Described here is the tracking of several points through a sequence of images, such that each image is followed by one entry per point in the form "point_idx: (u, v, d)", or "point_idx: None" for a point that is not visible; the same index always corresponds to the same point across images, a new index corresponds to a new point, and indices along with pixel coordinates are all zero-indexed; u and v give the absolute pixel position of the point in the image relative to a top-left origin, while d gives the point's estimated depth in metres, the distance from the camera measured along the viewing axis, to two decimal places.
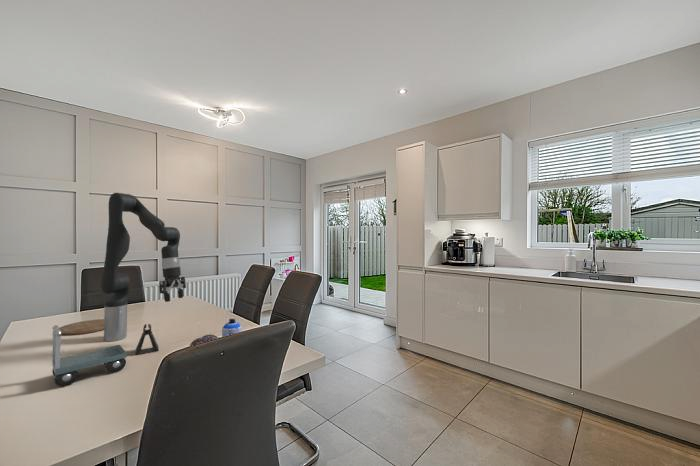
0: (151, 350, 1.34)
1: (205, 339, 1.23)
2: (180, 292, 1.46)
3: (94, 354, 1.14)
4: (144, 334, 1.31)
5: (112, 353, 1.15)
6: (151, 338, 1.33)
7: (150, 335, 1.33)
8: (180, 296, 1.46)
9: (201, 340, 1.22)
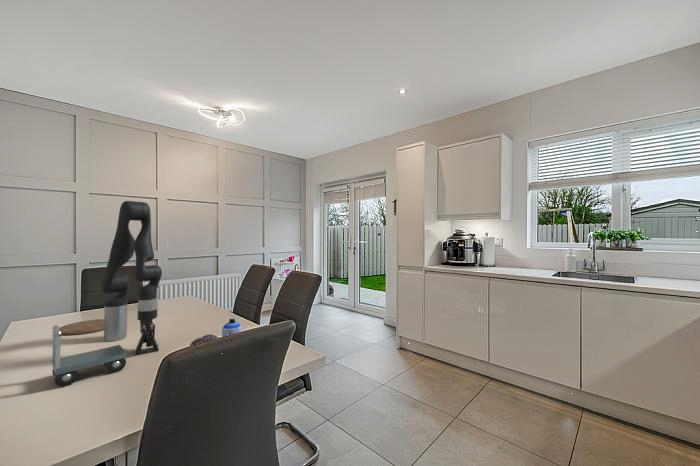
0: (151, 350, 1.34)
1: (205, 339, 1.23)
2: (146, 336, 1.37)
3: (94, 354, 1.14)
4: (144, 334, 1.31)
5: (112, 353, 1.15)
6: None
7: None
8: (145, 341, 1.36)
9: (201, 340, 1.22)
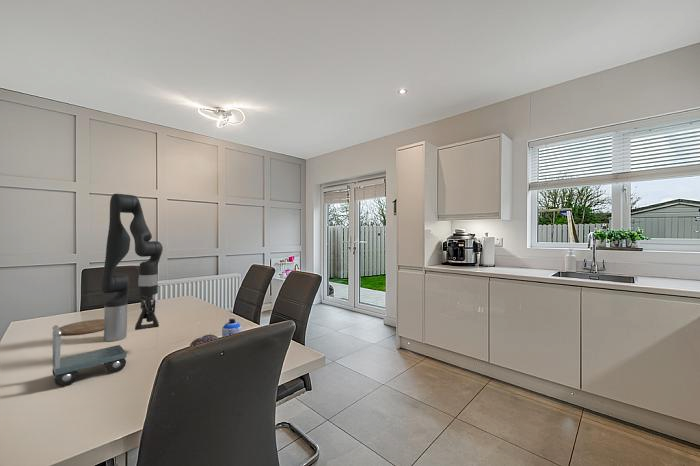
0: (151, 326, 1.35)
1: (205, 339, 1.23)
2: (146, 312, 1.37)
3: (94, 354, 1.14)
4: (144, 309, 1.32)
5: (112, 353, 1.15)
6: None
7: None
8: (145, 317, 1.37)
9: (201, 340, 1.22)
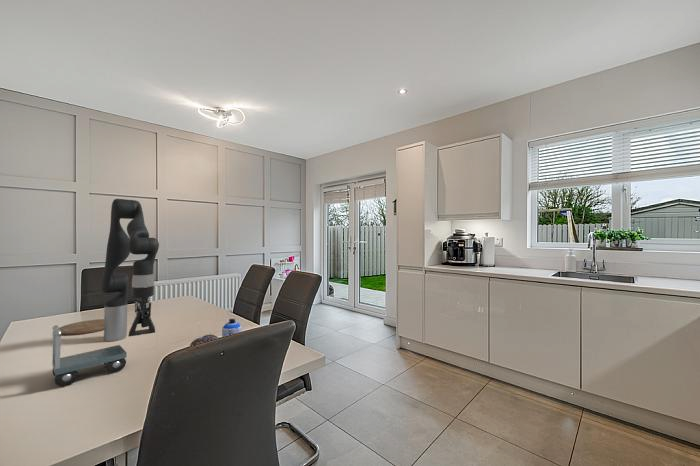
0: (147, 331, 1.21)
1: (205, 339, 1.23)
2: (141, 317, 1.23)
3: (94, 354, 1.14)
4: (139, 313, 1.18)
5: (112, 353, 1.15)
6: None
7: None
8: (140, 321, 1.23)
9: (201, 340, 1.22)
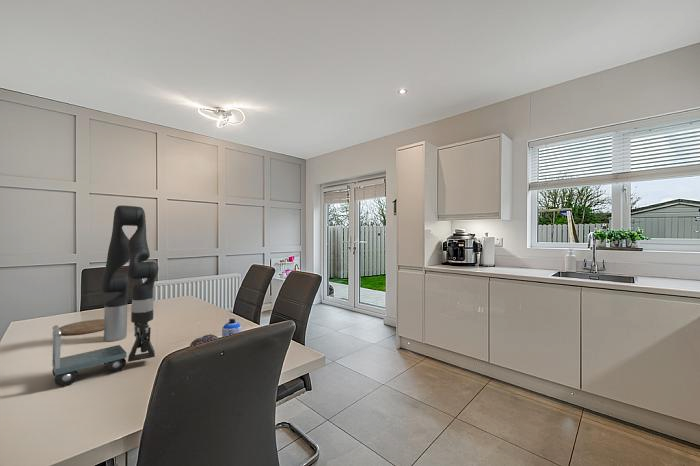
0: (146, 356, 1.21)
1: (205, 339, 1.23)
2: (140, 340, 1.23)
3: (94, 354, 1.14)
4: (138, 338, 1.18)
5: (112, 353, 1.15)
6: None
7: None
8: (140, 345, 1.23)
9: (201, 340, 1.22)
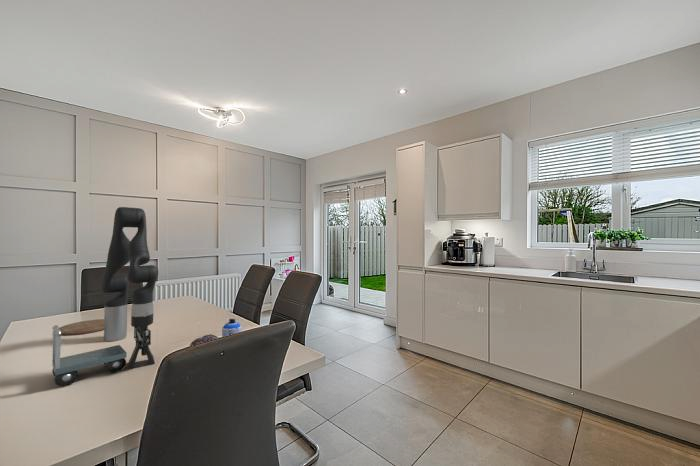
0: (146, 363, 1.21)
1: (205, 339, 1.23)
2: None
3: (94, 354, 1.14)
4: (139, 345, 1.18)
5: (112, 353, 1.15)
6: None
7: None
8: None
9: (201, 340, 1.22)
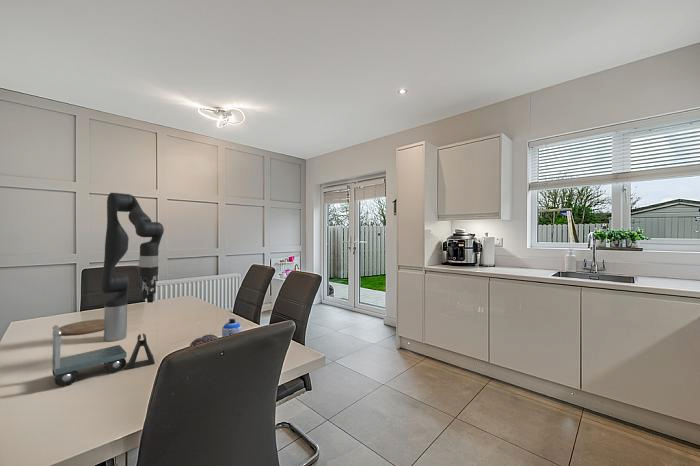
0: (146, 363, 1.21)
1: (205, 339, 1.23)
2: (146, 292, 1.35)
3: (94, 354, 1.14)
4: (139, 345, 1.18)
5: (112, 353, 1.15)
6: (146, 350, 1.20)
7: (145, 346, 1.19)
8: (145, 297, 1.35)
9: (201, 340, 1.22)
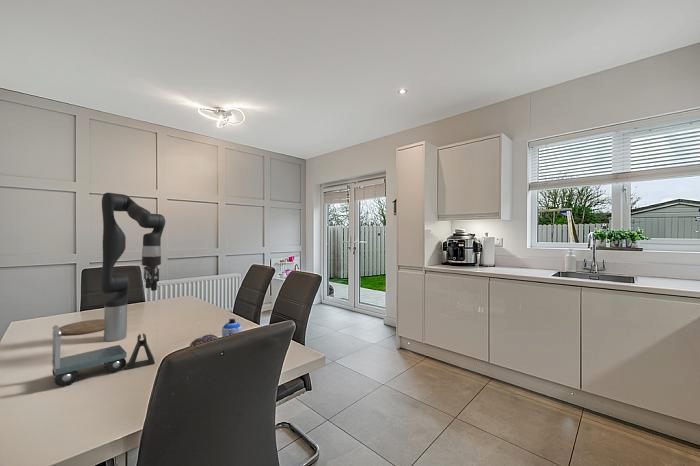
0: (146, 363, 1.21)
1: (205, 339, 1.23)
2: (149, 282, 1.41)
3: (94, 354, 1.14)
4: (139, 345, 1.18)
5: (112, 353, 1.15)
6: (146, 350, 1.20)
7: (145, 346, 1.19)
8: (148, 286, 1.41)
9: (201, 340, 1.22)
